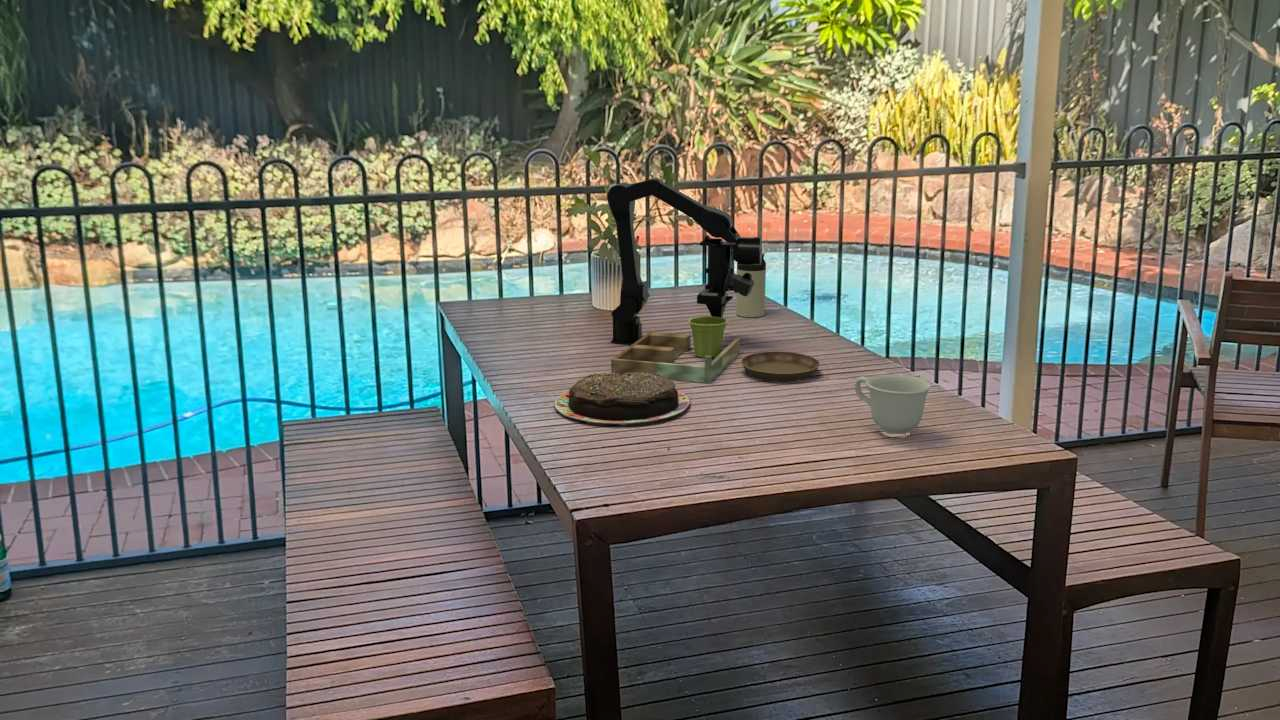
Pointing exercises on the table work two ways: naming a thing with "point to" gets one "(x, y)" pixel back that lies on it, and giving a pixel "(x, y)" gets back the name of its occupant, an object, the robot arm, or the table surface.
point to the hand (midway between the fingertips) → (718, 325)
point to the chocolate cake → (622, 399)
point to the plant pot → (707, 335)
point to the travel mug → (752, 291)
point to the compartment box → (670, 358)
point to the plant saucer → (780, 366)
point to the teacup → (895, 401)
